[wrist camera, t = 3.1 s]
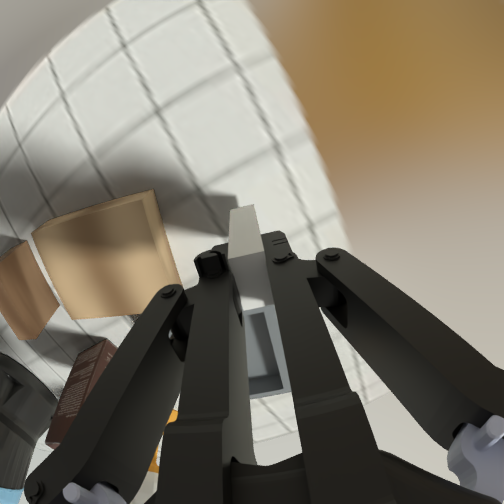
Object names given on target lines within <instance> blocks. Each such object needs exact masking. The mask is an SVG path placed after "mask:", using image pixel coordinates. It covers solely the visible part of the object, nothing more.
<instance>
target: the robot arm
mask: <svg viewBox="0 0 504 504" xmlns="http://www.w3.org/2000/svg"><path fill="white" fill-rule="evenodd" d="M194 263H195V266H196V269H197V272H198V274H199V277H200V278H199V283H198V284H197V285H196V286H194V287H192V288H189V289H187V290H184V289H183V287H182V285H180V284H169V285H167V286H164V287H163V288H161V289H160V290H159V291H158V292H157V293H156V294H155V295H154V297H153V298H152V300H151V301H150V302H149V304H148V305H147V307H146V308H145V309H144V311H143V312H142V314H141V315H140V317H139V318H138V320H137V321H136V322H135V324H134V325H133V327H132V328H131V330H130V331H129V333H128V334H127V336H126V337H125V339H124V340H123V342H122V343H121V345H120V346H119V348H118V349H117V351H116V352H115V354H114V355H113V357H112V358H111V360H110V361H109V363H108V365H107V366H106V368H105V369H104V371H103V372H102V374H101V376H100V377H99V379H98V380H97V382H96V384H95V385H94V387H93V388H92V390H91V392H90V393H89V395H88V397H87V398H86V400H85V402H84V403H83V405H82V407H81V408H80V410H79V412H78V414H77V415H76V417H75V419H74V420H73V422H72V424H71V426H70V427H69V429H68V431H67V433H66V435H65V436H64V438H63V440H62V442H61V444H60V445H59V446H58V447H57V448H56V449H55V450H54V451H53V452H52V453H51V454H50V455H49V456H48V457H47V458H46V459H45V460H44V461H43V462H42V463H41V464H40V465H39V466H38V467H37V468H36V469H35V470H34V471H33V472H32V473H31V474H30V475H29V476H28V477H27V479H26V475H27V471H28V468H29V465H30V461H31V458H32V455H33V452H34V448H35V446H36V443H37V441H38V439H39V438H40V437H41V436H42V435H43V433H44V432H45V431H46V430H47V429H48V428H49V427H50V424H51V421H52V418H53V416H54V413H55V410H56V407H57V405H58V401H57V399H56V398H55V397H54V395H53V394H52V393H51V392H50V391H49V390H48V389H47V388H46V386H45V385H44V384H42V383H41V382H40V381H39V380H38V379H37V378H36V377H35V376H34V375H33V374H31V373H30V372H29V371H28V370H26V369H25V368H24V367H22V366H21V365H20V364H18V363H17V362H15V361H14V360H12V359H11V358H9V357H7V356H5V355H3V354H0V503H1V504H18V503H19V500H20V497H21V494H22V492H23V490H24V494H25V497H26V500H27V501H28V502H29V504H130V503H131V501H132V500H133V499H134V497H135V496H136V494H137V493H138V491H139V489H140V488H141V485H142V483H143V481H144V479H145V477H146V474H147V472H148V469H149V467H150V464H151V462H152V459H153V457H154V454H155V452H156V449H157V447H158V444H159V442H160V439H161V437H162V435H163V440H162V448H161V456H160V465H159V473H158V482H157V491H156V492H155V493H154V494H153V495H152V496H151V497H150V498H149V499H148V500H147V501H146V502H145V503H144V504H502V502H503V500H504V370H502V369H500V368H498V367H495V366H494V365H493V364H492V363H491V362H490V361H488V360H487V359H486V358H485V357H484V356H483V355H482V354H480V353H479V352H478V351H477V350H476V349H475V348H473V347H472V346H471V345H470V344H469V343H467V342H466V341H465V340H464V339H462V338H461V337H460V336H459V335H458V334H456V333H455V332H454V331H453V330H451V329H450V328H449V327H448V326H447V325H445V324H444V323H443V322H442V321H440V320H439V319H438V318H437V317H435V316H434V315H433V314H432V313H430V312H429V311H428V310H426V309H425V308H423V307H422V306H421V305H420V304H419V303H417V302H416V301H415V300H413V299H412V298H411V297H409V296H408V295H406V294H405V293H404V292H403V291H401V290H400V289H399V288H397V287H396V286H395V285H393V284H392V283H390V282H389V281H388V280H386V279H385V278H384V277H382V276H381V275H379V274H378V273H377V272H375V271H374V270H372V269H371V268H370V267H368V266H367V265H365V264H364V263H362V262H361V261H359V260H358V259H357V258H355V257H354V256H352V255H351V254H349V253H348V252H347V251H345V250H343V249H340V248H327V249H324V250H322V251H320V252H319V253H318V254H317V255H316V260H301V259H298V257H297V255H296V254H295V253H293V252H292V250H291V247H290V245H289V243H288V240H287V239H286V236H285V234H284V233H283V232H281V231H274V232H270V233H266V234H260V230H259V225H258V221H257V217H256V212H255V208H254V204H253V205H248V206H244V207H240V208H235V209H231V210H230V221H229V242H228V243H225V244H221V245H217V246H214V247H213V248H212V249H211V250H208V251H205V252H203V253H201V254H199V255H198V256H197V257H195V259H194ZM241 304H242V307H243V311H245V310H250V309H255V308H259V307H264V306H269V305H273V304H274V306H275V310H276V315H277V320H278V325H279V330H280V335H281V340H282V345H283V350H284V355H285V360H286V366H287V371H288V376H289V381H290V386H291V391H292V397H293V402H294V409H295V414H296V420H297V425H298V431H299V436H300V441H301V447H302V453H301V454H298V455H296V456H293V457H291V458H288V459H286V460H284V461H281V462H278V463H276V464H273V465H270V466H260V465H257V462H256V459H255V455H254V449H253V437H252V424H251V410H250V396H249V382H248V368H247V353H246V337H245V322H244V315H243V312H242V308H241ZM319 307H321V310H322V312H323V313H324V314H325V315H326V317H327V318H328V319H329V320H330V321H331V322H332V323H333V325H334V326H335V327H336V328H337V329H338V330H339V331H340V333H341V334H342V335H343V336H344V337H345V338H346V339H347V341H348V342H349V343H350V344H351V345H352V346H353V347H354V349H355V350H356V351H357V352H358V353H359V354H360V356H361V357H362V358H363V359H364V360H365V361H366V363H367V364H368V365H369V366H370V367H371V368H372V369H373V371H374V372H375V373H376V374H377V375H378V376H379V378H380V379H381V380H382V381H383V382H384V383H385V385H386V386H387V387H388V388H389V389H390V390H391V392H392V393H393V394H394V395H395V396H396V397H397V399H398V400H399V401H400V402H401V403H402V405H403V406H404V407H405V408H406V409H407V410H408V412H409V413H410V414H411V415H412V416H413V418H414V419H415V420H416V421H417V422H418V424H419V425H420V426H421V427H422V428H423V430H424V431H425V432H426V433H427V434H428V435H429V436H430V437H431V438H432V439H433V440H434V441H435V442H437V443H438V444H439V445H440V446H442V447H443V448H444V449H446V450H448V455H447V462H448V468H449V470H450V471H452V472H454V473H455V474H456V475H457V477H458V479H459V481H460V485H457V484H455V483H452V482H450V481H448V480H445V479H443V478H441V477H438V476H436V475H434V474H431V473H429V472H427V471H425V470H423V469H421V468H419V467H417V466H415V465H413V464H411V463H409V462H407V461H405V460H403V459H401V458H399V457H397V456H395V455H393V454H391V453H388V452H386V451H383V450H379V449H378V447H377V444H376V441H375V438H374V435H373V432H372V430H371V427H370V424H369V421H368V419H367V416H366V413H365V410H364V407H363V405H362V402H361V400H360V398H359V395H358V394H357V393H356V392H352V390H351V389H350V387H349V384H348V381H347V379H346V376H345V373H344V371H343V368H342V365H341V363H340V360H339V357H338V355H337V352H336V350H335V347H334V344H333V342H332V339H331V337H330V334H329V332H328V329H327V327H326V324H325V322H324V319H323V317H322V314H321V312H320V309H319ZM170 331H171V333H172V335H171V337H170V338H169V332H170ZM179 393H180V399H179V407H178V415H177V419H176V420H175V421H174V422H169V423H168V424H167V422H168V420H169V417H170V415H171V413H172V410H173V408H174V405H175V403H176V400H177V398H178V396H179ZM163 432H164V433H163ZM25 479H26V481H25ZM24 483H25V484H24Z"/></svg>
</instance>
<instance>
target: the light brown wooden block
mask: <svg viewBox="0 0 504 504" xmlns="http://www.w3.org/2000/svg"><path fill="white" fill-rule="evenodd" d="M31 234H32V237H33V240H34V242H35V245H36V247H37V250H38V252H39V255H40V257H41V259H42V262H43V264H44V266H45V268H46V271H47V273H48V275H49V277H50V279H51V281H52V283H53V285H54V287H55V289H56V291H57V293H58V295H59V297H60V299H61V301H62V303H63V305H64V306H65V308H66V310H67V312H68V314H69V315H70V317H71V319H72V320H76V319H89V318H101V317H112V316H123V315H133V314H142V312H143V311H144V309H145V308H146V307H147V305H148V304H149V302H150V301H151V300H152V298H153V297H154V295H155V294H156V293H157V292H158V291H159V290H160V289H161V288H163V287H164V286H167V285H169V284H180V285H182V283H181V280H180V277H179V274H178V271H177V268H176V264H175V261H174V258H173V255H172V252H171V248H170V245H169V242H168V239H167V235H166V232H165V228H164V225H163V221H162V218H161V214H160V211H159V207H158V203H157V200H156V196H155V192H154V189H152V190H148V191H144V192H140V193H136V194H132V195H128V196H125V197H121V198H118V199H114V200H111V201H107V202H104V203H100V204H97V205H94V206H91V207H87V208H84V209H81V210H78V211H75V212H72V213H69V214H66V215H63V216H60V217H57V218H54V219H52V220H49V221H47V222H46V223H44V224H43V225H42V226H40V227H39V228H37V229H36V230H35V231H33V232H32V233H31ZM182 287H183V286H182Z"/></svg>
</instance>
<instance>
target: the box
mask: <svg viewBox="0 0 504 504" xmlns="http://www.w3.org/2000/svg"><path fill="white" fill-rule="evenodd" d="M117 349H118V348H117V347H116V346H115V345H113V343H111V342H110V341H109V340H108V339H106V340H104V341H102V342H100V343H98V344H96V345H94V346H93V347H91V348H89V349H87V350H85V351H83V352H81V353H80V354H78V356H77V358H76V361H75V363H74V365H73V367H72V370H71V372H70V374H69V377H68V379H67V382H66V384H65V387H64V389H63V392H62V394H61V397H60V399H59V402H58V405H57V407H56V410H55V413H54V416H53V418H52V421H51V424H50V427H49V430H48V434H47V437H46V440H45V444H46V445H48V446H49V447H51V448H52V449H54V450H55V449H56V448H57V447H58V446H59V445H60V444H61V442H62V440H63V438H64V436H65V435H66V433H67V431H68V429H69V427H70V426H71V424H72V422H73V420H74V419H75V417H76V415H77V414H78V412H79V410H80V408H81V407H82V405H83V403H84V402H85V400H86V398H87V397H88V395H89V393H90V392H91V390H92V388H93V387H94V385H95V384H96V382H97V380H98V379H99V377H100V376H101V374H102V372H103V371H104V369H105V368H106V366H107V365H108V363H109V361H110V360H111V358H112V357H113V355H114V354H115V352H116V351H117Z"/></svg>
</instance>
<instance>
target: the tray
mask: <svg viewBox="0 0 504 504" xmlns="http://www.w3.org/2000/svg"><path fill="white" fill-rule="evenodd" d="M241 308H242V312H243V315H244V322H245V337H246V353H247V368H248V382H249V396H250V399H256V398H262V397H267V396H273V395H278V394H283V393H288V392H292V391H291V386H290V381H289V376H288V371H287V366H286V360H285V355H284V350H283V345H282V340H281V335H280V330H279V325H278V320H277V315H276V310H275V306H274V304H273V305H269V306H264V307H259V308H255V309H250V310H245V311H243V307H242V304H241ZM140 315H141V314H140ZM139 317H140V316H139ZM171 335H172V333H171V331H170V332H169V338H170V337H171Z"/></svg>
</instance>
